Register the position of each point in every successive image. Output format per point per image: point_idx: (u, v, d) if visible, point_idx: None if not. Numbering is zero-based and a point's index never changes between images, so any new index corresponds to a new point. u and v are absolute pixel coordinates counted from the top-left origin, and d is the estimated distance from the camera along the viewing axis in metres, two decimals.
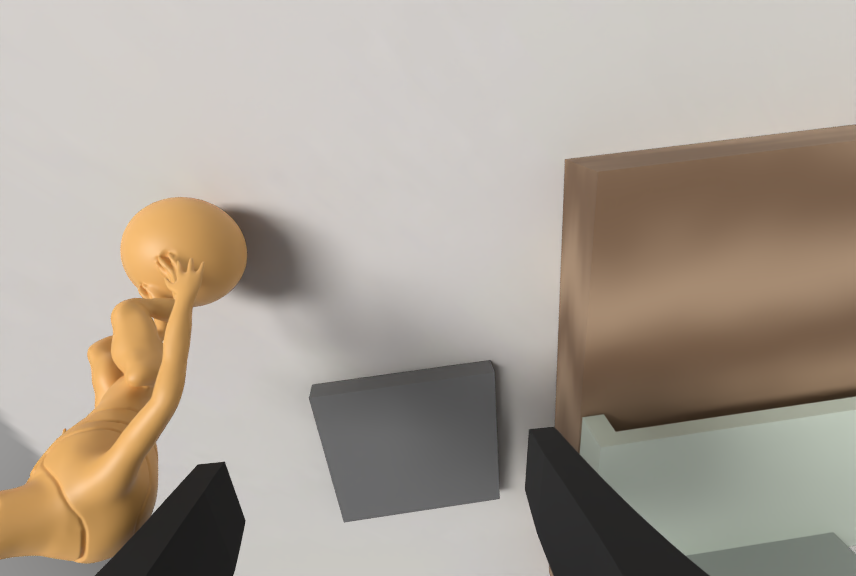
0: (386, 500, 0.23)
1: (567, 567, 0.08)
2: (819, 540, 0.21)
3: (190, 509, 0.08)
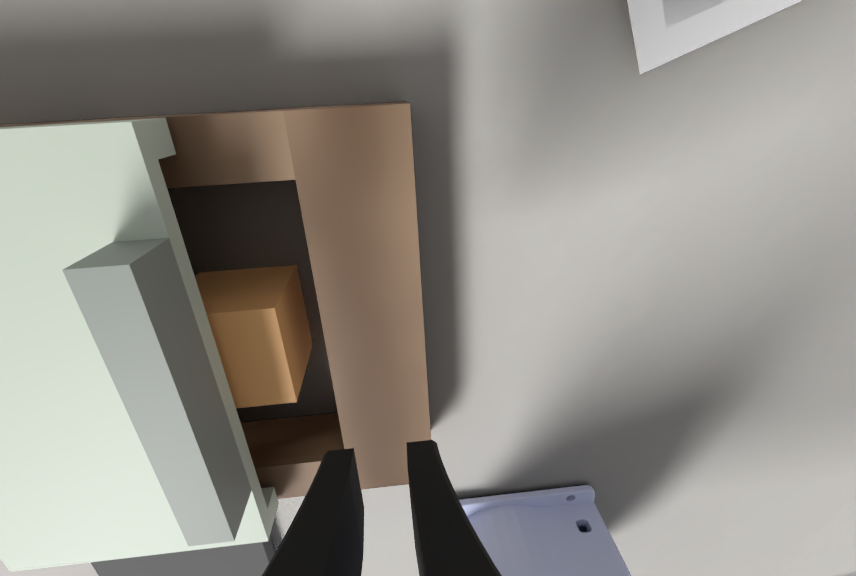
0: None
1: None
2: None
3: (343, 491, 0.08)
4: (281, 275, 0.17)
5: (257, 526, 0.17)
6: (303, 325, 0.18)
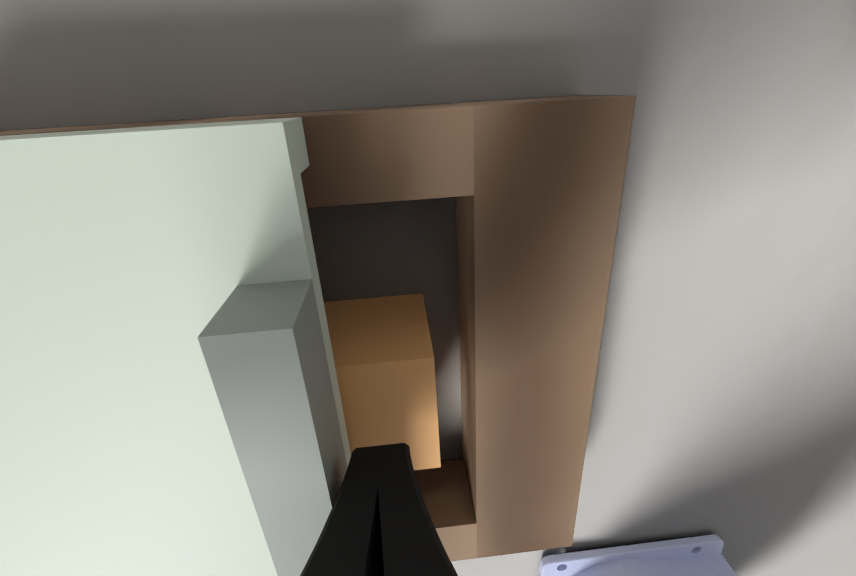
0: None
1: None
2: None
3: (376, 487, 0.08)
4: (413, 308, 0.14)
5: None
6: None
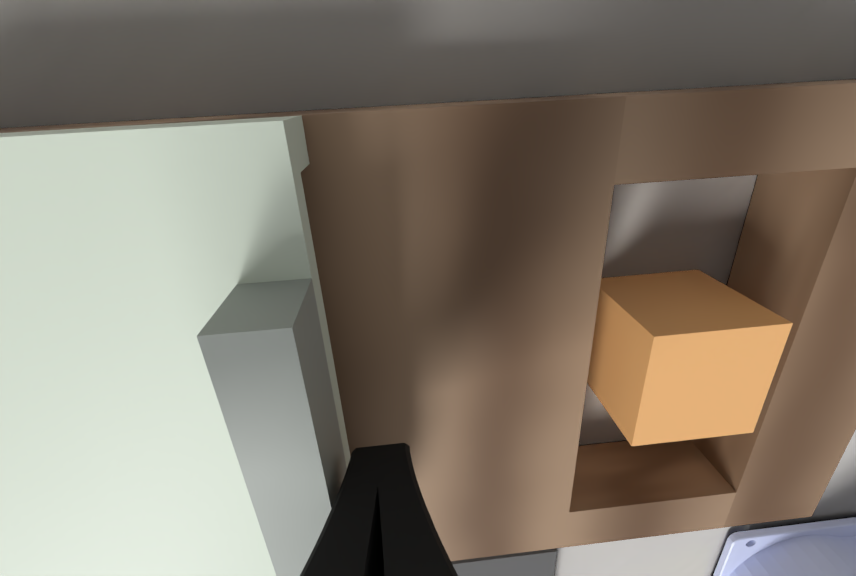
0: None
1: None
2: None
3: (376, 488, 0.08)
4: (707, 282, 0.14)
5: None
6: None
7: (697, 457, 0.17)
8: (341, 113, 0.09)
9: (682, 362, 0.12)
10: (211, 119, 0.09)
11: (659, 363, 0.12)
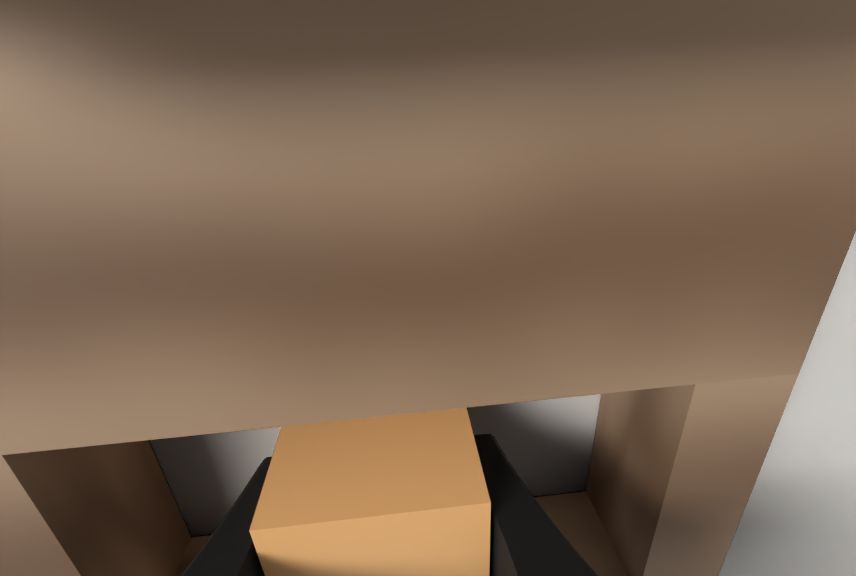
0: None
1: None
2: None
3: None
4: None
5: None
6: None
7: (167, 574, 0.11)
8: None
9: (437, 547, 0.07)
10: None
11: (437, 521, 0.07)
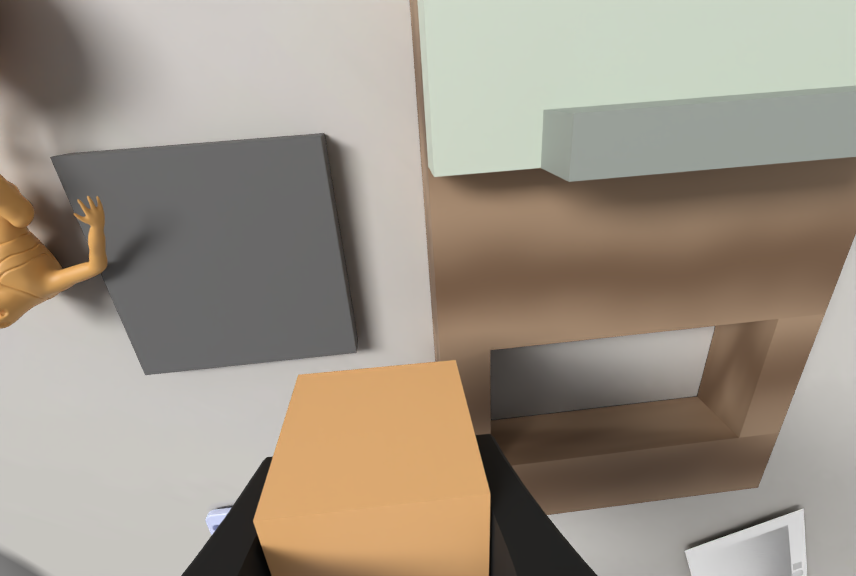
0: (198, 342, 0.18)
1: None
2: None
3: None
4: None
5: (467, 165, 0.12)
6: None
7: None
8: None
9: (437, 538, 0.08)
10: None
11: (438, 512, 0.07)
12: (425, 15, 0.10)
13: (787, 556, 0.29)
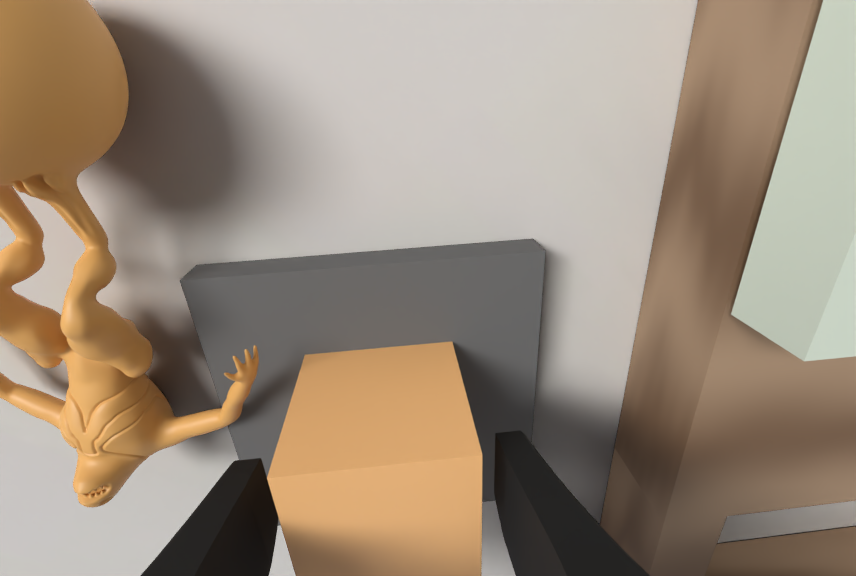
0: None
1: (527, 572, 0.08)
2: None
3: (233, 504, 0.08)
4: None
5: None
6: None
7: None
8: None
9: (434, 497, 0.08)
10: None
11: (435, 472, 0.08)
12: None
13: None
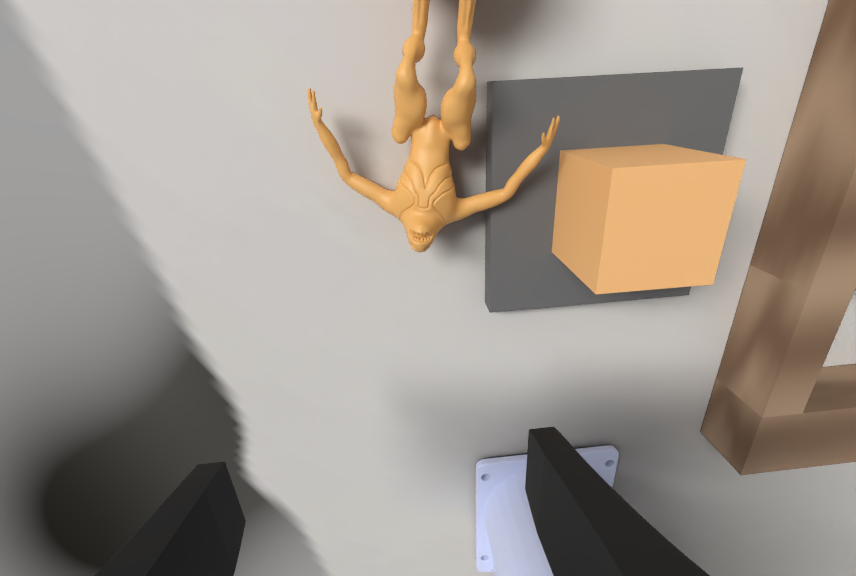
0: (550, 280, 0.18)
1: (567, 568, 0.08)
2: None
3: (190, 509, 0.08)
4: None
5: None
6: None
7: None
8: None
9: (707, 195, 0.13)
10: None
11: (714, 172, 0.12)
12: None
13: None
